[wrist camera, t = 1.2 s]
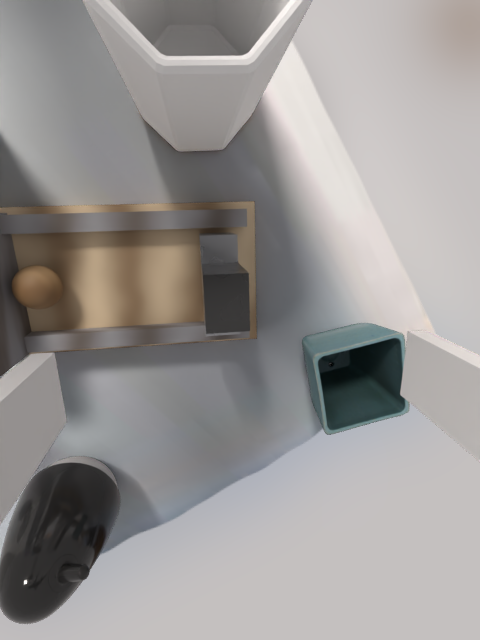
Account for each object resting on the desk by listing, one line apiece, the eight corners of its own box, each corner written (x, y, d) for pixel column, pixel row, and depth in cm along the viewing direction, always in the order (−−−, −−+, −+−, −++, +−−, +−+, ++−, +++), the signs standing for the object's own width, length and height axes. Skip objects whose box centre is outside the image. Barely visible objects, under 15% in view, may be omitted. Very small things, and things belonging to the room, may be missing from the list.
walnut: (20, 263, 32) (-3, 269, 28) (65, 261, 33) (48, 267, 29) (29, 305, 33) (7, 315, 29) (72, 302, 34) (56, 313, 30)
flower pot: (367, 375, 42) (411, 414, 34) (299, 392, 42) (325, 437, 33) (360, 307, 40) (404, 331, 31) (286, 326, 39) (312, 355, 31)
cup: (274, 123, 33) (362, 13, 16) (171, 175, 33) (144, 124, 16) (222, -8, 30) (262, -336, 12) (109, 51, 30) (-14, -191, 12)
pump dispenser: (144, 487, 43) (118, 624, 28) (70, 525, 43) (7, 679, 29) (98, 426, 40) (42, 544, 25) (19, 466, 40) (-81, 606, 26)
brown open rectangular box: (9, 348, 36) (-49, 388, 28) (-23, 208, 32) (-103, 204, 24) (253, 332, 39) (270, 364, 30) (251, 202, 35) (269, 196, 26)
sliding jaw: (204, 317, 35) (208, 364, 24) (199, 233, 33) (200, 240, 21) (233, 315, 36) (250, 360, 24) (230, 232, 33) (248, 238, 22)
